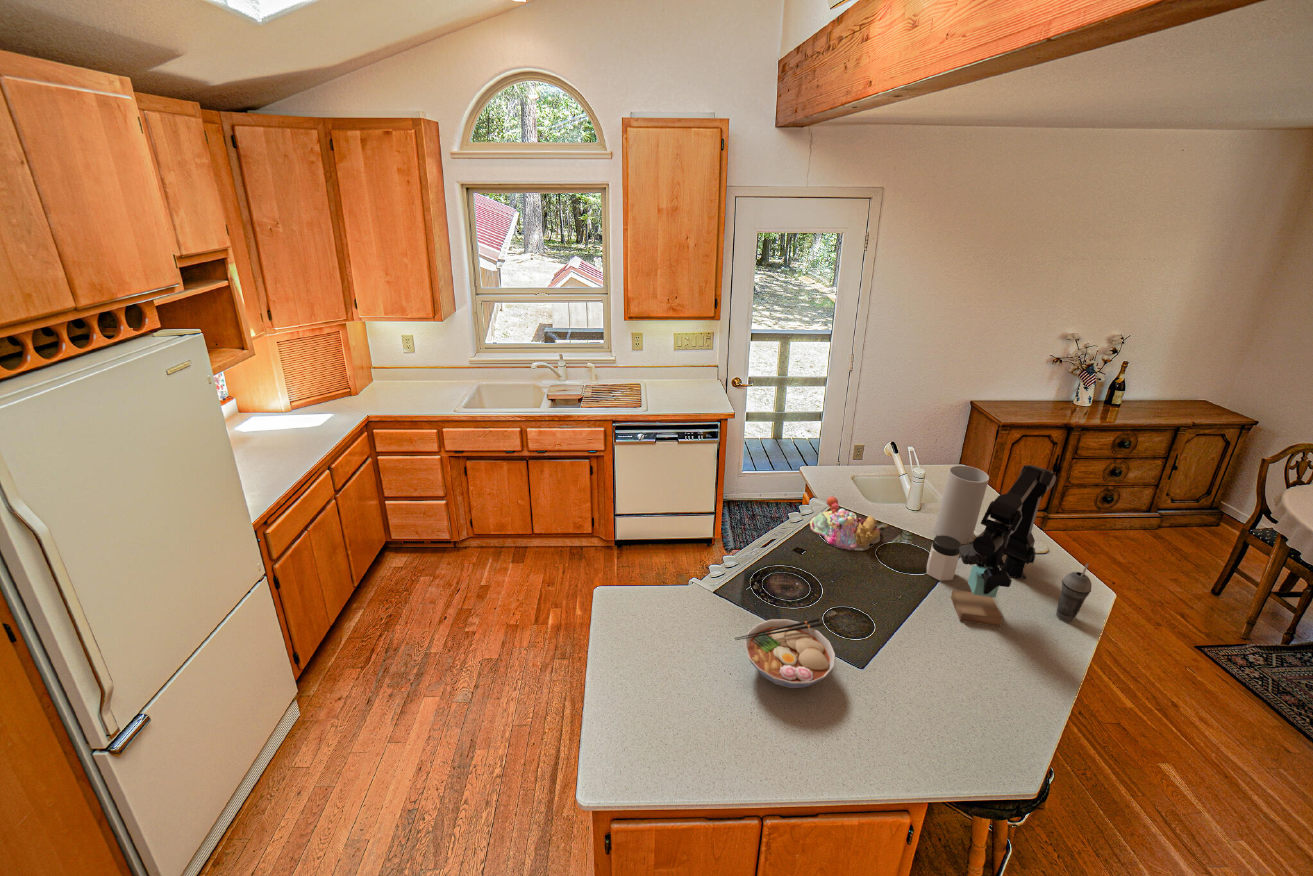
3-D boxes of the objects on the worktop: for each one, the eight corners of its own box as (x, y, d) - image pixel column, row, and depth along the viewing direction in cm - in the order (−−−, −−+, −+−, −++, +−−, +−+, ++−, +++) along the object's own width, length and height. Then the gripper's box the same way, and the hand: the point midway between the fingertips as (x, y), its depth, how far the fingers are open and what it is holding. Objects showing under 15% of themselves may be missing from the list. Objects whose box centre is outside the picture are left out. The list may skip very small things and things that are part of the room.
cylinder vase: (926, 528, 229) (941, 467, 219) (954, 524, 233) (970, 463, 223) (950, 547, 218) (967, 484, 208) (979, 542, 222) (997, 479, 212)
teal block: (967, 582, 187) (972, 565, 185) (989, 584, 187) (994, 568, 184) (973, 594, 182) (978, 577, 180) (995, 597, 181) (1000, 580, 179)
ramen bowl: (759, 714, 150) (763, 689, 147) (725, 648, 170) (727, 624, 167) (852, 695, 157) (857, 670, 153) (808, 633, 177) (812, 610, 173)
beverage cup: (1071, 610, 189) (1092, 554, 181) (1083, 626, 183) (1106, 569, 175) (1046, 608, 190) (1065, 552, 182) (1057, 624, 183) (1078, 567, 175)
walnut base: (950, 597, 193) (952, 589, 192) (988, 602, 192) (991, 594, 190) (960, 621, 183) (962, 613, 182) (1000, 626, 182) (1002, 618, 181)
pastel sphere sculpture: (887, 528, 229) (892, 506, 225) (870, 559, 211) (875, 536, 207) (821, 508, 241) (824, 487, 237) (799, 536, 223) (802, 513, 219)
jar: (925, 562, 210) (933, 532, 205) (952, 568, 207) (960, 537, 202) (926, 578, 202) (934, 546, 197) (953, 584, 200) (962, 552, 195)
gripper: (956, 521, 187) (945, 564, 193) (974, 557, 170) (961, 603, 177) (996, 525, 185) (983, 569, 192) (1018, 562, 169) (1003, 609, 175)
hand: (982, 586), depth 184 cm, fingers closed on teal block, 6 cm apart
